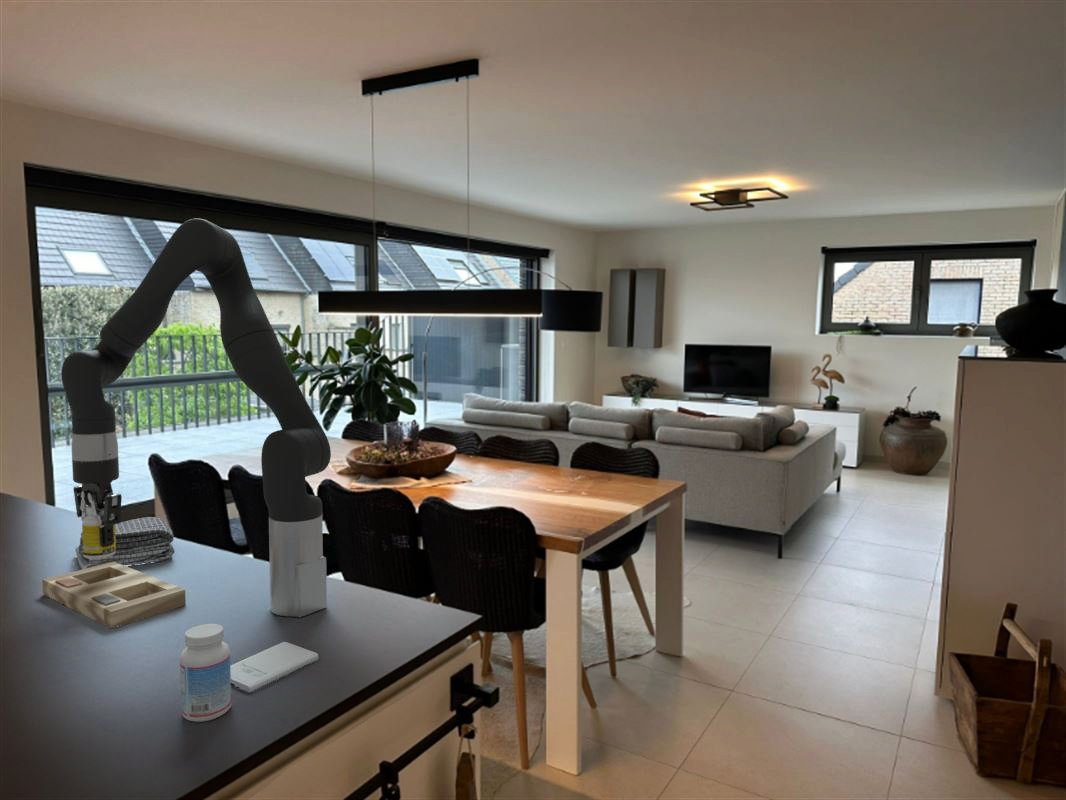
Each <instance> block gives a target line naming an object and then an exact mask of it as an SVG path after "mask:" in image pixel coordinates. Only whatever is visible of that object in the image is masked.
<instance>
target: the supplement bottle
mask: <svg viewBox="0 0 1066 800" xmlns="http://www.w3.org/2000/svg"><path fill="white" fill-rule="evenodd" d="M99 510H100V511H102V510H104V508H103V509H99ZM86 514H88V516H87V517H85V518H84V519H83V521H82V520H81V526H82V527H81V529H82V530H81V533H83V556H84V557H85V558H87V559H101V558H106V557H110V556H112V555H114V554H115V553H116V537H115V525H113V532H114V544H113V545H111V546H107V547H102V546H100V535H99V528H100V527H99V523H98V519H97V517H95V516H94V514H93V510H92V507H91V506H86ZM103 520H104V515H103Z"/></svg>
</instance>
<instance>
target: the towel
mask: <svg viewBox="0 0 1066 800" xmlns="http://www.w3.org/2000/svg"><path fill="white" fill-rule="evenodd" d="M115 537H116V553H115V554H114V555H112V556H110V557H106V558H101V559H87V558H85V557H84V556H83V533H82V532H81V533H80V538H79V545H78V546H76V547H75V549H74V550H75V555H76V559H77V560H78V561H77V562H78V565H79V567H80V570H83V569H87V568H91V567H95V566H99V565H103V564H107V563H111V562H116V563H119V564H121V565H135V564H142V563H150V564H152V563H151V562H156V563H160V562H159V561H161V562H163V561H167V560H169V559H171V557H172V556H174V554H175V547H174V545H173V541H174V540H175V539H174V533H173V530H172V529H171V527H170V526H169V524H168V523H167V521H166V520H164V519H163V518H161V517H156V516H154V517H153V516H145V517H138V518H134V519H130V520H129V519H128V520H126V521H125V520H124V521H120V523H119V524H115Z"/></svg>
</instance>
